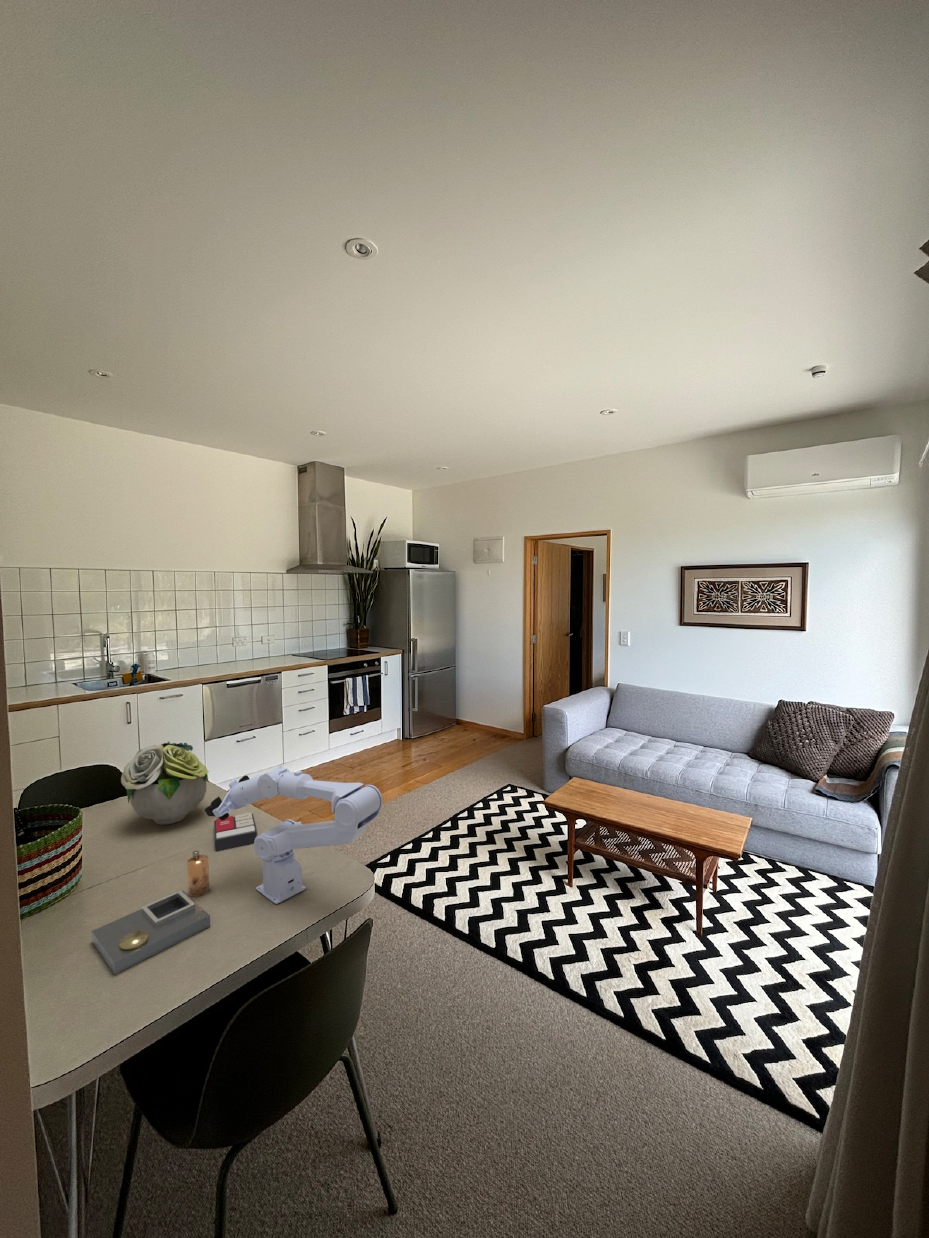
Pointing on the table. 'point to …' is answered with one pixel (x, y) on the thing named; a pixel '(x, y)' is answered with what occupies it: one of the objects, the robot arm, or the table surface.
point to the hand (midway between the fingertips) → (218, 802)
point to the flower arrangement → (165, 782)
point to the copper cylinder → (198, 875)
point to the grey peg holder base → (149, 930)
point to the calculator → (234, 831)
